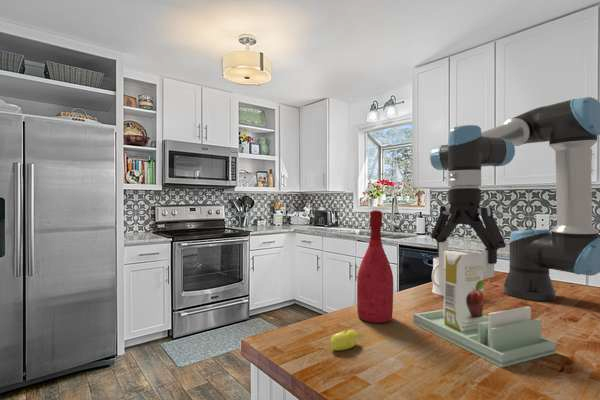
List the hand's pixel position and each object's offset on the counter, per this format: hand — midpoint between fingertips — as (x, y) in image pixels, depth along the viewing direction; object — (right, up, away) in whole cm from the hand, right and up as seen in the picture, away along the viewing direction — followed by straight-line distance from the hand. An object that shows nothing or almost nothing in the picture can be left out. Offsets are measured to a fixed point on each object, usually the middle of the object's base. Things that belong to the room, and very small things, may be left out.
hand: (464, 271), depth 85 cm
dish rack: (+1, -15, -4) cm, 16 cm away
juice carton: (-1, -14, 0) cm, 14 cm away
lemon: (-32, -15, -11) cm, 37 cm away
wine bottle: (-21, -15, +8) cm, 27 cm away
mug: (+8, -15, +33) cm, 37 cm away
